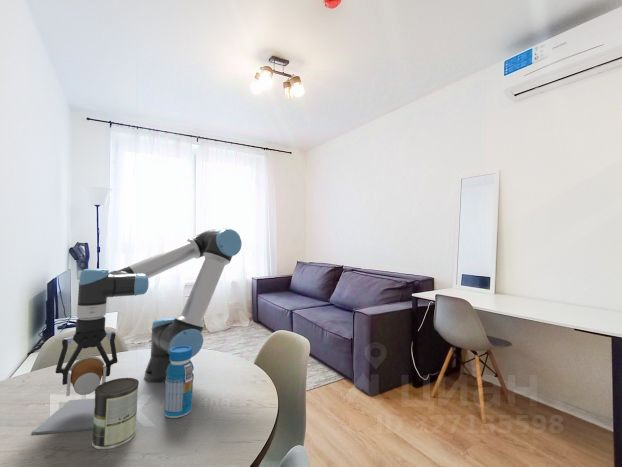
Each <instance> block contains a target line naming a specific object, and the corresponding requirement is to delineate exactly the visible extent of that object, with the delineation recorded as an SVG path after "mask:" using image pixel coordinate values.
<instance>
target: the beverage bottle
mask: <svg viewBox="0 0 622 467" xmlns="http://www.w3.org/2000/svg"><path fill="white" fill-rule="evenodd" d="M191 357H192V348H191V347H190V346H177V347H174V348H172V349H170V353H169V360H170V361H171V363H170V364H169V366H168V367H167V370H166V374H167V377H166V379H165V381H164V383H165V392H164V412H163V413H164V415H165V417H167V418H170V419H177V418H178V419H179V418H181V417H184V416H186V415H188V414H189V413H191V411H192V410H193V388H194V387H193V385H194V377H195V376H194V373H193V372H194V367H195V366H194V364H193V362H192V360H191V359H192V358H193V357H192V358H191Z"/></svg>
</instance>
